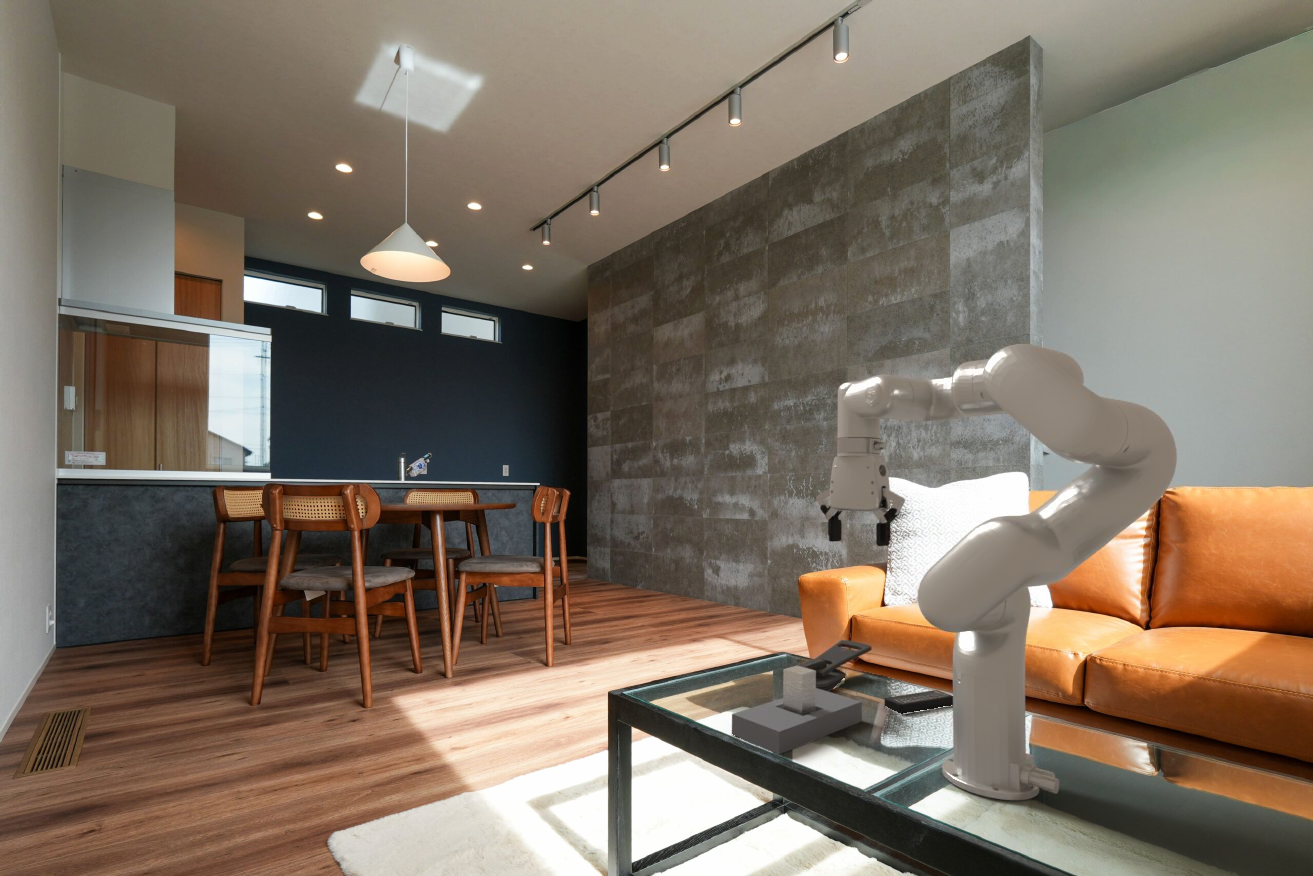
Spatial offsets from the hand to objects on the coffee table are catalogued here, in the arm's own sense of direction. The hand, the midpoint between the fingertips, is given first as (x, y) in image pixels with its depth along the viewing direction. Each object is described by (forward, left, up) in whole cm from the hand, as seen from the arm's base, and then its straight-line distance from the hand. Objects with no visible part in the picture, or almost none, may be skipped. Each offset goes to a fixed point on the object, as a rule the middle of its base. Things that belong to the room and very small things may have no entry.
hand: (858, 543), depth 118 cm
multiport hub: (-2, -20, -33) cm, 38 cm away
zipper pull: (+19, -20, -33) cm, 43 cm away
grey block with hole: (+6, +9, -32) cm, 34 cm away
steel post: (+6, +9, -32) cm, 34 cm away
